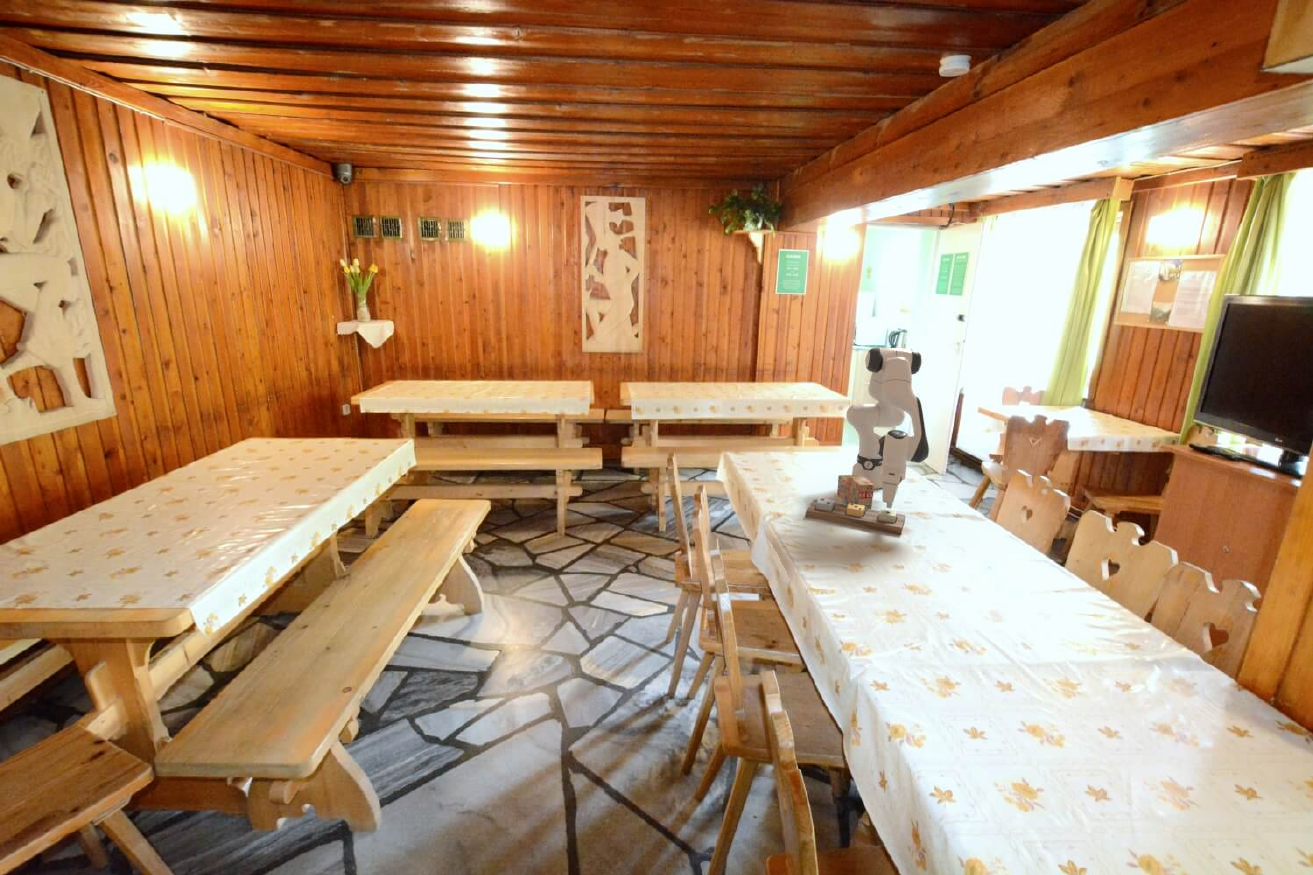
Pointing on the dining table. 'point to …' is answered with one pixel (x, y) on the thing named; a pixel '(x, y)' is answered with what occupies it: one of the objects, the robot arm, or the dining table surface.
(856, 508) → the button three
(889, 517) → the button one
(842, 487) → the stack of blocks
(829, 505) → the button two
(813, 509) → the console
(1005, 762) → the dining table surface
